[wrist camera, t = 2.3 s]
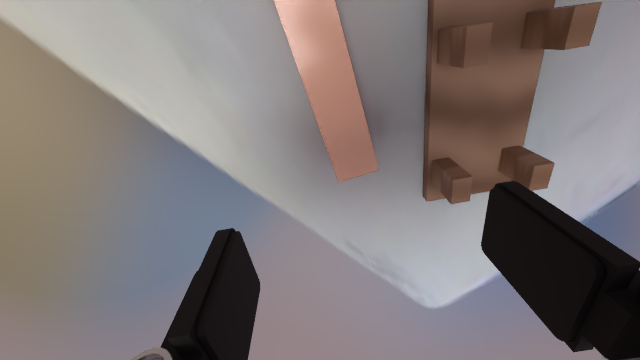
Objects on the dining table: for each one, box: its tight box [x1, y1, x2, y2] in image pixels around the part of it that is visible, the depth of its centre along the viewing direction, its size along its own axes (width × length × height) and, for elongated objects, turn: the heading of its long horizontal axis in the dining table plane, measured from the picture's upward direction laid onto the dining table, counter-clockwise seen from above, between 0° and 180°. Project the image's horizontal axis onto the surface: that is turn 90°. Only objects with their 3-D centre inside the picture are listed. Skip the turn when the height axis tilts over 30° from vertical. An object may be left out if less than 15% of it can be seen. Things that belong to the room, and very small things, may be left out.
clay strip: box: [274, 0, 379, 182], centre depth 20 cm, size 16×4×4 cm, turn 19°
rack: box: [423, 0, 602, 204], centre depth 22 cm, size 18×9×5 cm, turn 9°
